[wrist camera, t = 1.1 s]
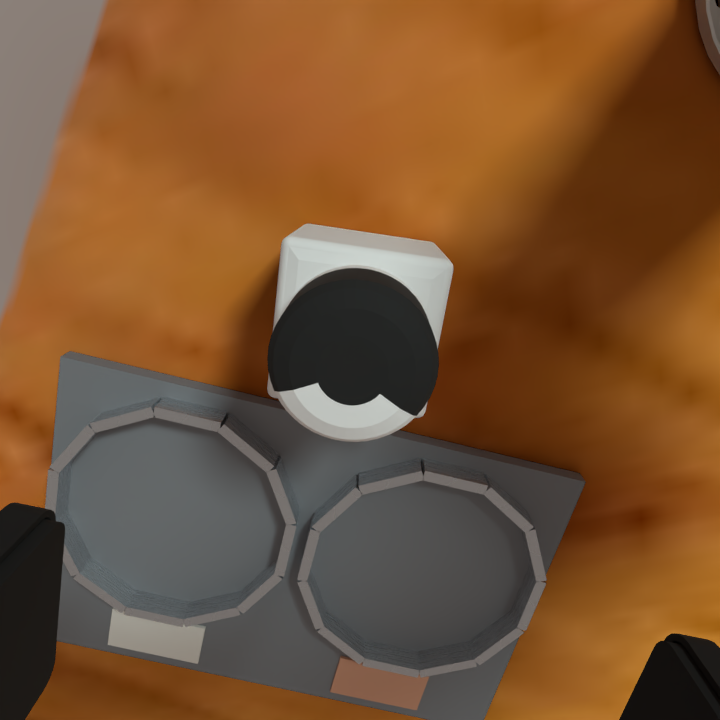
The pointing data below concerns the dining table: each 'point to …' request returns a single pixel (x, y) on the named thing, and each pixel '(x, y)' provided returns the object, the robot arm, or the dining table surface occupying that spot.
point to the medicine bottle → (356, 330)
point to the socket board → (265, 534)
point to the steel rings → (240, 601)
